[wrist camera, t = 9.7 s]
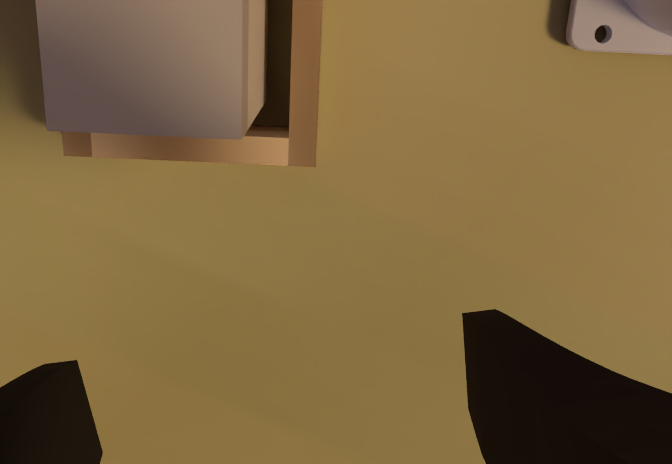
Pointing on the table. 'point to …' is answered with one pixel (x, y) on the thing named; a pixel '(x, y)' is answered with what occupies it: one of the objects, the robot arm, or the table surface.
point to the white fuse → (153, 66)
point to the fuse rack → (258, 141)
